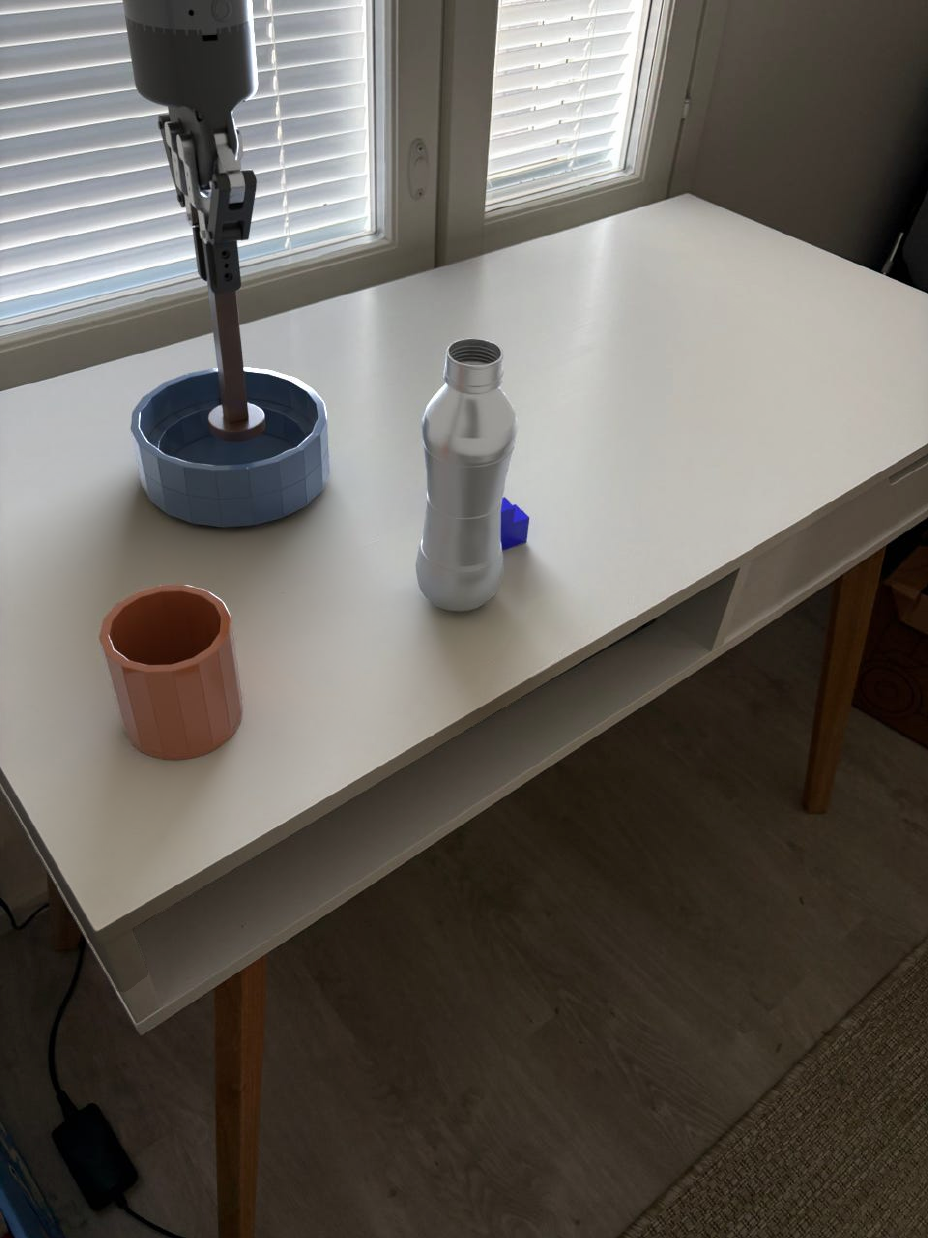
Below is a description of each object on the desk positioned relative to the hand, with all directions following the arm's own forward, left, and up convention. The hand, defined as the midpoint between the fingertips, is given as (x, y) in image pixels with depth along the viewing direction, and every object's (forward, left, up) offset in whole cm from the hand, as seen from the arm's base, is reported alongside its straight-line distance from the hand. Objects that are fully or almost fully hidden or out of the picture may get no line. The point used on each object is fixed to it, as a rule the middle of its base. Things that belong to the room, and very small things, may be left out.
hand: (220, 283), depth 72 cm
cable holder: (+16, -12, -18) cm, 27 cm away
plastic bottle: (+10, -19, -18) cm, 28 cm away
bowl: (0, +2, -18) cm, 18 cm away
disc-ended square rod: (0, 0, -12) cm, 12 cm away
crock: (-12, -22, -18) cm, 31 cm away
